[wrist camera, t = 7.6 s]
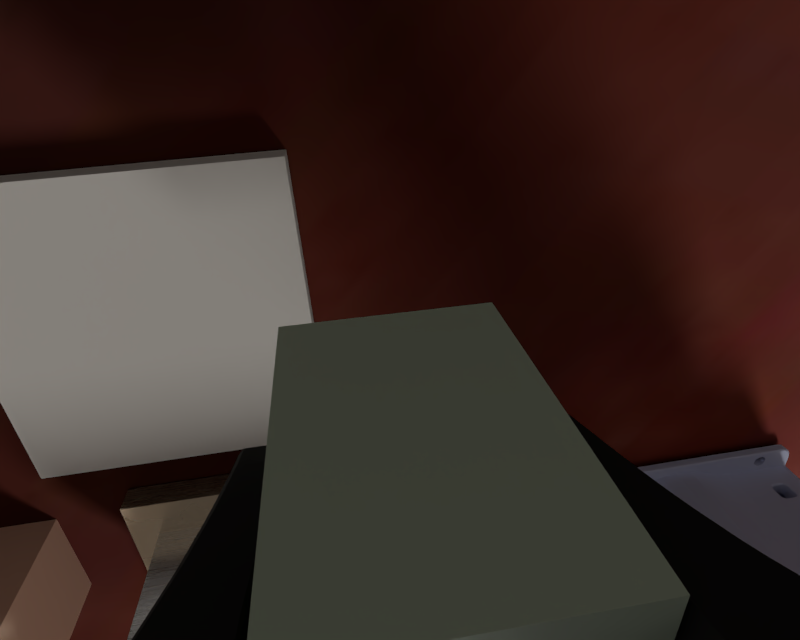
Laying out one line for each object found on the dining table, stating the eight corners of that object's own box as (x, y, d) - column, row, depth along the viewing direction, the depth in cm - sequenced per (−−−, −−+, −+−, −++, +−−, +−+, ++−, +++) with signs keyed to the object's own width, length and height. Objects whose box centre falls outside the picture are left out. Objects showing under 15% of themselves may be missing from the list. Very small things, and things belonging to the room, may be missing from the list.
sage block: (492, 302, 10) (690, 594, 5) (485, 459, 12) (621, 788, 7) (278, 327, 10) (243, 677, 4) (307, 485, 12) (307, 859, 6)
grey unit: (481, 435, 22) (548, 592, 16) (479, 534, 25) (535, 698, 19) (127, 489, 20) (50, 684, 14) (170, 587, 23) (121, 783, 17)
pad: (286, 149, 15) (284, 156, 14) (329, 419, 20) (330, 436, 19) (-87, 183, 14) (-113, 193, 13) (53, 458, 19) (41, 478, 18)
